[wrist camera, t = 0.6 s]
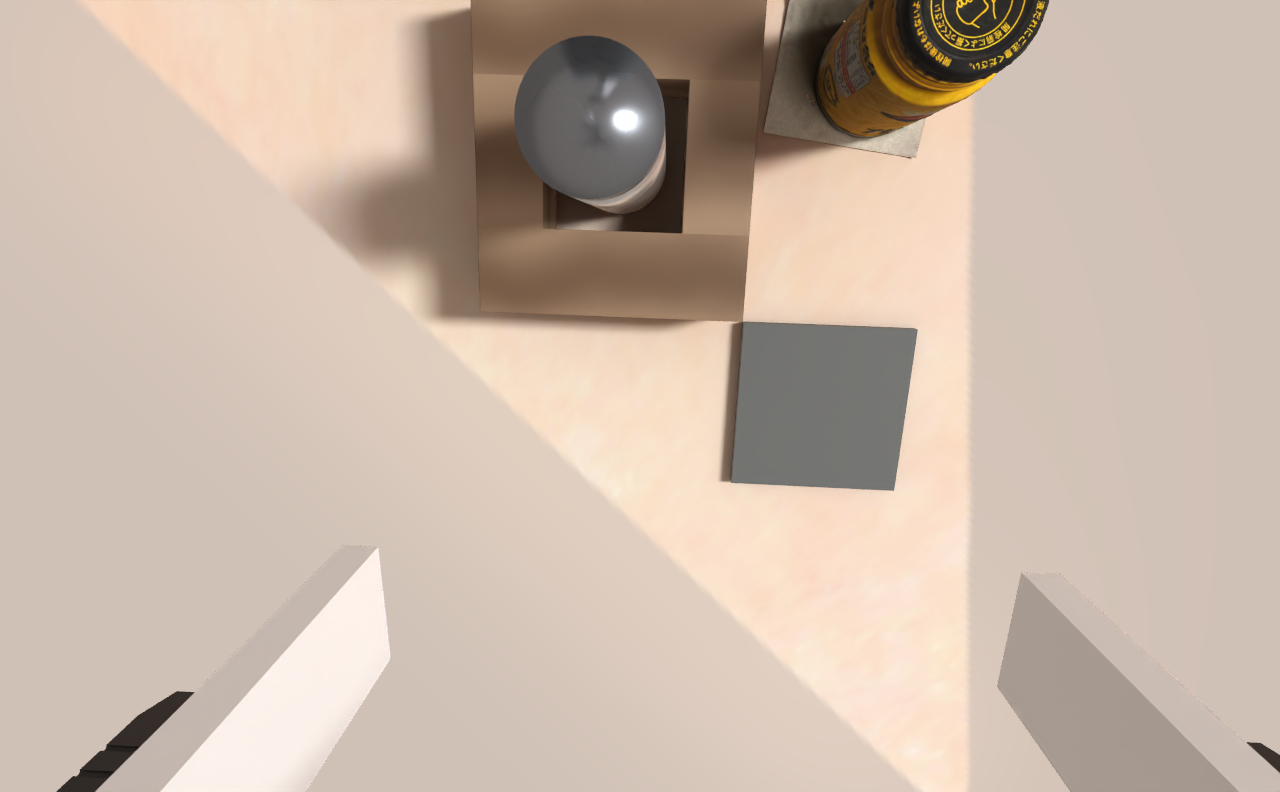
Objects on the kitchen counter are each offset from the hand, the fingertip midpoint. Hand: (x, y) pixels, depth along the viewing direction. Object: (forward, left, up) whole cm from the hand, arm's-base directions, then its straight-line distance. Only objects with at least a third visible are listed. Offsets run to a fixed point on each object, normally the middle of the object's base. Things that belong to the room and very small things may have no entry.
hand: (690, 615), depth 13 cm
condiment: (-16, +9, -26) cm, 32 cm away
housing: (-11, -4, -26) cm, 28 cm away
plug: (-11, -4, -26) cm, 28 cm away
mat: (+2, +9, -26) cm, 27 cm away
